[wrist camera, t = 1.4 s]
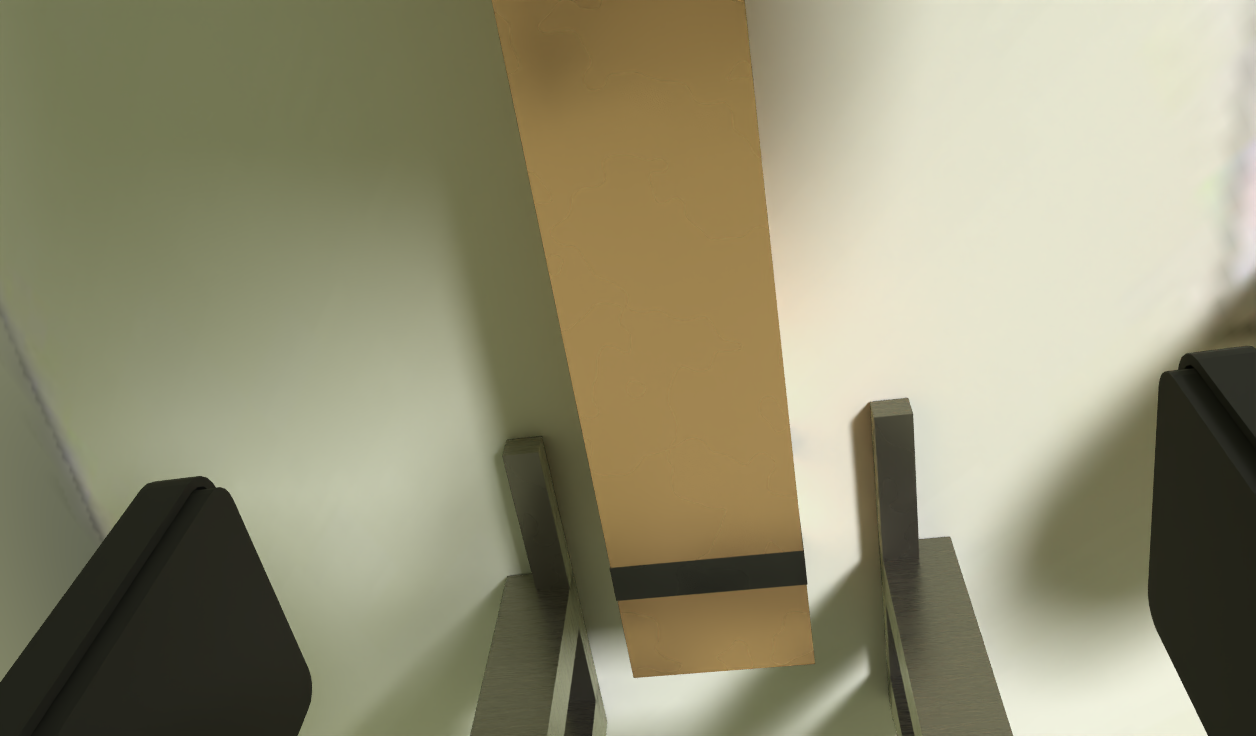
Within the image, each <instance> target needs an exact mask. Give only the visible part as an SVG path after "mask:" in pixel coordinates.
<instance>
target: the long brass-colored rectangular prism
mask: <svg viewBox="0 0 1256 736" xmlns="http://www.w3.org/2000/svg"><path fill="white" fill-rule="evenodd" d="M492 4H493V9H494V14H495V18H496V23H497V28H498V33H499V38H500V42H501V47H502V52H503V57H504V61H505V66H506V71H507V76H508V81H509V85H510V90H511V95H512V100H513V104H514V109H515V114H516V119H517V123H518V128H519V133H520V138H521V143H522V147H523V152H524V157H525V162H526V166H527V171H528V176H529V181H530V186H531V190H532V195H533V200H534V205H535V209H536V214H537V219H538V224H539V228H540V233H541V238H542V243H543V248H544V252H545V257H546V262H547V267H548V271H549V276H550V281H551V286H552V291H553V295H554V300H555V305H556V310H557V314H558V319H559V324H560V329H561V333H562V338H563V343H564V348H565V353H566V357H567V362H568V367H569V372H570V376H571V381H572V386H573V391H574V396H575V400H576V405H577V410H578V415H579V419H580V424H581V429H582V434H583V438H584V443H585V448H586V453H587V458H588V462H589V467H590V472H591V477H592V481H593V486H594V491H595V496H596V501H597V505H598V510H599V515H600V520H601V524H602V529H603V534H604V539H605V544H606V548H607V553H608V558H609V563H610V572H611V577H612V581H613V586H614V591H615V596H616V600H617V601H618V606H619V610H620V615H621V620H622V625H623V629H624V634H625V639H626V644H627V649H628V653H629V658H630V663H631V668H632V672H633V677H634V678H638V677H651V676H664V675H677V674H690V673H703V672H716V671H728V670H741V669H754V668H767V667H780V666H793V665H806V664H815V660H814V650H813V641H812V631H811V622H810V612H809V603H808V594H807V576H806V566H805V557H804V548H803V540H802V533H801V525H800V517H799V509H798V499H797V490H796V481H795V471H794V462H793V452H792V443H791V433H790V424H789V415H788V405H787V396H786V386H785V377H784V367H783V358H782V349H781V339H780V330H779V320H778V311H777V301H776V292H775V283H774V273H773V264H772V254H771V245H770V235H769V226H768V217H767V207H766V198H765V188H764V179H763V170H762V160H761V151H760V141H759V132H758V122H757V113H756V104H755V94H754V85H753V75H752V66H751V56H750V47H749V38H748V28H747V19H746V9H745V0H492Z"/></svg>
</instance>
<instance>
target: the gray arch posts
mask: <svg viewBox="0 0 1256 736" xmlns="http://www.w3.org/2000/svg"><path fill="white" fill-rule="evenodd" d="M870 409H871V424H872V440H873V455H874V471H875V486H876V502H877V518H878V533H879V549H880V564H881V580H882V595H883V611H884V627H885V642H886V658H887V673H888V689H889V702H890V707H891V712H892V718H893V721H894V724H895V729H896V734H897V736H1013V734H1012V731H1011V728H1010V725H1009V721H1008V718H1007V715H1006V712H1005V709H1004V706H1003V702H1002V699H1001V696H1000V693H999V690H998V687H997V683H996V680H995V677H994V674H993V671H992V668H991V664H990V661H989V658H988V655H987V652H986V649H985V645H984V642H983V639H982V636H981V633H980V630H979V626H978V623H977V620H976V617H975V614H974V611H973V607H972V604H971V601H970V598H969V595H968V592H967V588H966V585H965V582H964V579H963V576H962V573H961V569H960V566H959V563H958V560H957V557H956V554H955V550H954V547H953V544H952V541H951V538H950V537H941V538H930V539H918V517H917V494H916V471H915V448H914V425H913V412H912V409H911V406H910V402H909V399H908V398H903V399H893V400H884V401H874V402H870ZM503 460H504V464H505V468H506V472H507V476H508V480H509V484H510V488H511V492H512V496H513V500H514V504H515V508H516V512H517V516H518V520H519V524H520V528H521V532H522V536H523V540H524V544H525V548H526V552H527V556H528V560H529V564H530V568H531V572H532V574H526V575H515V576H507V579H506V583H505V588H504V592H503V596H502V601H501V605H500V609H499V613H498V618H497V622H496V626H495V631H494V635H493V639H492V644H491V648H490V652H489V656H488V661H487V665H486V669H485V674H484V678H483V682H482V686H481V691H480V695H479V699H478V704H477V708H476V712H475V717H474V721H473V725H472V729H471V734H470V736H606V729H607V719H606V714H605V710H604V706H603V701H602V697H601V693H600V688H599V684H598V679H597V675H596V671H595V666H594V662H593V658H592V653H591V649H590V645H589V640H588V636H587V631H586V627H585V623H584V618H583V614H582V610H581V605H580V601H579V596H578V592H577V588H576V583H575V579H574V575H573V570H572V566H571V562H570V557H569V553H568V548H567V544H566V540H565V535H564V531H563V527H562V522H561V518H560V513H559V509H558V505H557V500H556V496H555V492H554V487H553V483H552V478H551V474H550V470H549V465H548V461H547V457H546V452H545V448H544V444H543V439H542V436H540V437H531V438H521V439H512V440H507V441H506V445H505V448H504V452H503Z"/></svg>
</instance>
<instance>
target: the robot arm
mask: <svg viewBox="0 0 1256 736" xmlns="http://www.w3.org/2000/svg"><path fill="white" fill-rule="evenodd" d="M1148 598H1149V606H1150V611H1151V615H1152V619H1153V622H1154V625H1155V627H1156V630H1157V632H1158V634H1159V636H1160V638H1161V640H1162V642H1163V644H1164V646H1165V648H1166V650H1167V653H1168V655H1169V657H1170V659H1171V661H1172V663H1173V665H1174V667H1175V669H1176V671H1177V673H1178V675H1179V677H1180V679H1181V681H1182V683H1183V685H1184V687H1185V689H1186V691H1187V694H1188V696H1189V698H1190V700H1191V702H1192V704H1193V706H1194V708H1195V710H1196V712H1197V714H1198V716H1199V718H1200V720H1201V722H1202V724H1203V726H1204V728H1205V730H1206V732H1207V735H1208V736H1256V349H1255V348H1254V347H1252V346H1243V347H1234V348H1226V349H1218V350H1210V351H1202V352H1194V353H1186V354H1185V355H1184V356H1183V357H1182V358H1181V361H1180V363H1179V367H1178V370H1174V371H1166V372H1164V373H1163V374H1162V375H1161V378H1160V382H1159V391H1158V410H1157V429H1156V448H1155V467H1154V485H1153V504H1152V523H1151V542H1150V561H1149V580H1148ZM311 695H312V681H311V675H310V672H309V669H308V666H307V664H306V662H305V660H304V658H303V655H302V653H301V651H300V649H299V646H298V644H297V642H296V640H295V637H294V635H293V633H292V631H291V628H290V626H289V624H288V622H287V619H286V617H285V615H284V613H283V610H282V608H281V606H280V604H279V601H278V599H277V597H276V595H275V592H274V590H273V588H272V586H271V583H270V581H269V579H268V577H267V574H266V572H265V570H264V568H263V565H262V563H261V561H260V559H259V556H258V554H257V552H256V550H255V547H254V545H253V543H252V541H251V538H250V536H249V534H248V532H247V529H246V527H245V525H244V523H243V520H242V518H241V516H240V514H239V511H238V509H237V507H236V505H235V502H234V500H233V498H232V497H231V495H230V493H229V492H228V491H227V490H226V489H224V488H221V487H218V488H216V487H215V486H214V484H213V483H212V482H211V481H210V480H209V479H208V478H206V477H202V476H196V477H188V478H180V479H172V480H164V481H156V482H152V483H148V484H146V485H145V486H144V487H143V488H142V489H141V490H140V492H139V493H138V494H137V496H136V497H135V498H134V500H133V501H132V503H131V504H130V505H129V507H128V508H127V509H126V511H125V512H124V513H123V515H122V516H121V518H120V519H119V520H118V522H117V523H116V524H115V526H114V527H113V529H112V530H111V531H110V533H109V534H108V535H107V537H106V538H105V540H104V541H103V542H102V544H101V545H100V546H99V548H98V549H97V551H96V552H95V553H94V555H93V556H92V557H91V559H90V560H89V561H88V563H87V564H86V566H85V567H84V568H83V570H82V571H81V573H80V574H79V575H78V577H77V578H76V579H75V581H74V582H73V583H72V585H71V586H70V588H69V589H68V590H67V592H66V593H65V594H64V596H63V597H62V599H61V600H60V601H59V603H58V604H57V606H56V607H55V608H54V609H53V611H52V612H51V614H50V615H49V616H48V618H47V619H46V620H45V622H44V623H43V625H42V626H41V627H40V629H39V630H38V632H37V633H36V634H35V636H34V637H33V638H32V640H31V641H30V642H29V644H28V645H27V647H26V648H25V649H24V651H23V652H22V653H21V655H20V656H19V658H18V659H17V660H16V662H15V663H14V664H13V666H12V667H11V668H10V670H9V671H8V673H7V674H6V675H5V677H4V678H3V680H2V681H1V682H0V736H298V733H299V731H300V728H301V726H302V723H303V721H304V718H305V716H306V713H307V711H308V708H309V705H310V702H311Z"/></svg>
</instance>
